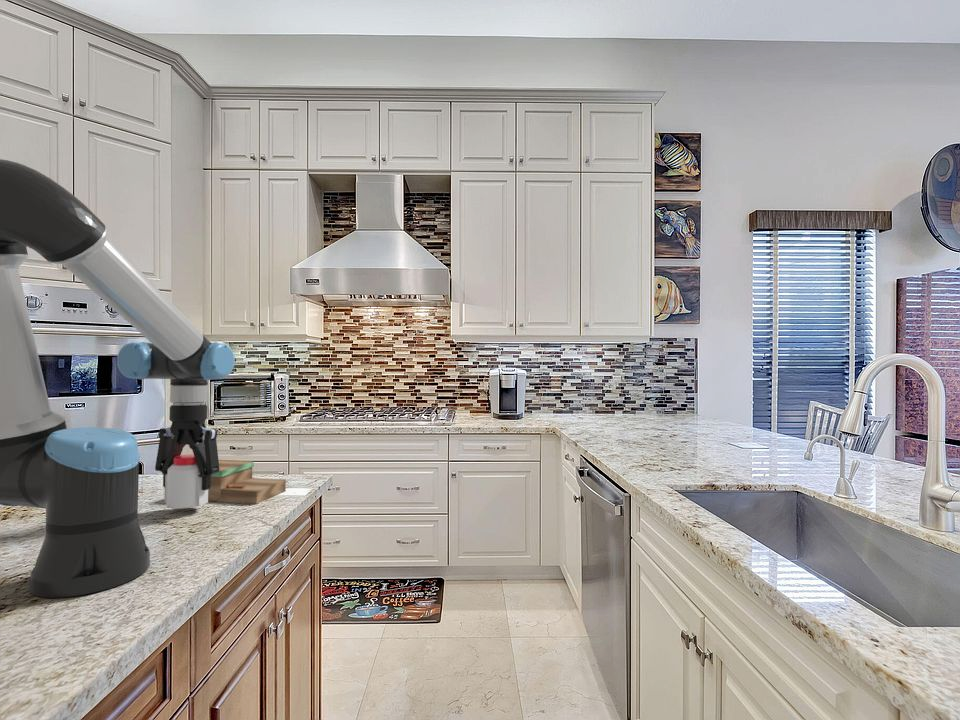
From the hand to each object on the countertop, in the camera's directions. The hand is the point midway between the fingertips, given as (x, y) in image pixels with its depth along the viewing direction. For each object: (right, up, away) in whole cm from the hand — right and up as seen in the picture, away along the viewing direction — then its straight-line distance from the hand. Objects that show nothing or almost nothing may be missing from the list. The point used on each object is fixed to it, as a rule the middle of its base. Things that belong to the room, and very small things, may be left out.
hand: (186, 502), depth 113 cm
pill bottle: (0, 0, 0) cm, 0 cm away
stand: (+5, -2, +14) cm, 15 cm away
